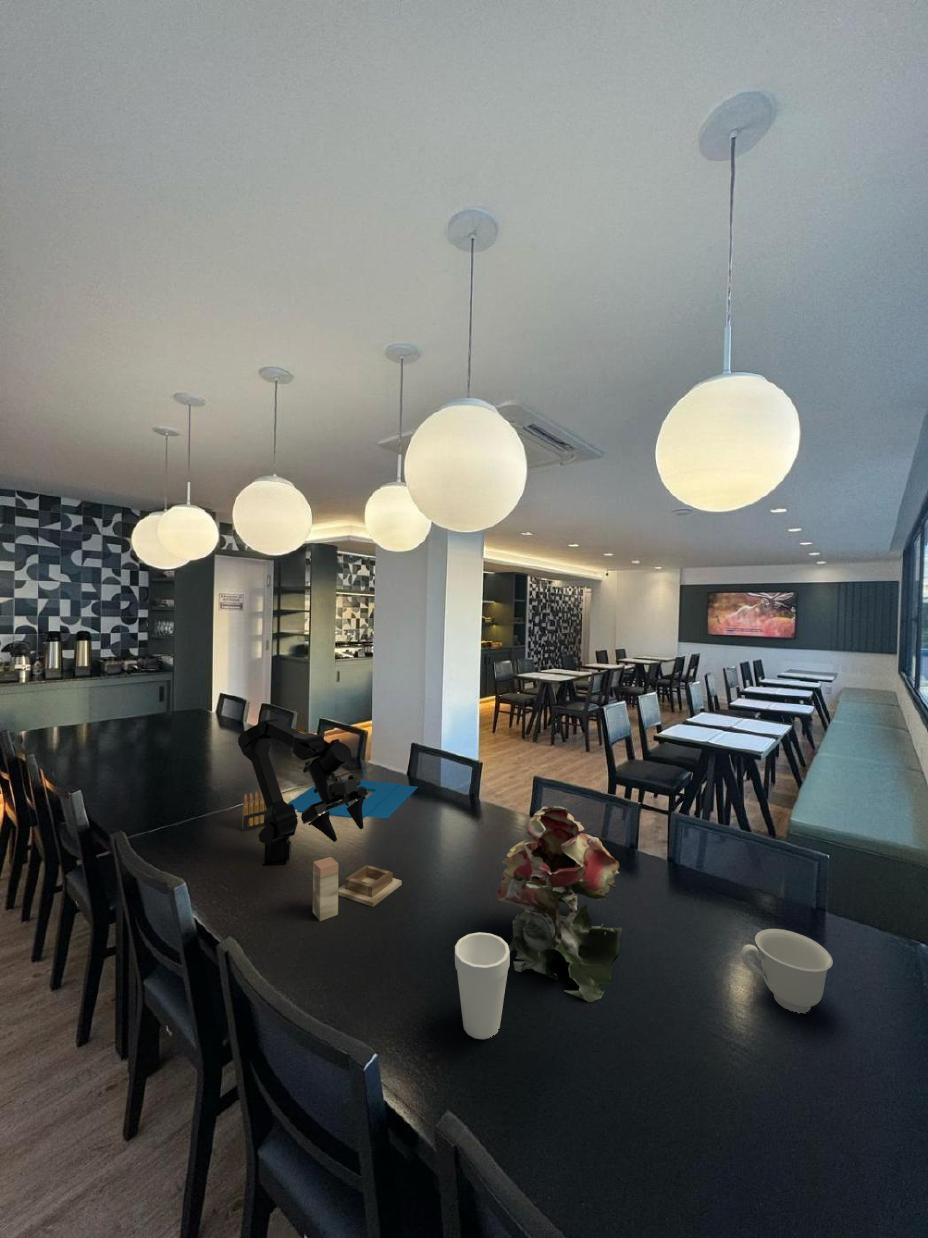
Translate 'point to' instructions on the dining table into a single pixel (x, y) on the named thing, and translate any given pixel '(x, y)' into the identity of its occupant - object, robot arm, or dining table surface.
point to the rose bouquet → (561, 900)
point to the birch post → (325, 888)
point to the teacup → (790, 967)
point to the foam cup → (482, 981)
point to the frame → (375, 805)
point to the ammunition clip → (253, 812)
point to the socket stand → (369, 885)
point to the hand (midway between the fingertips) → (349, 834)
